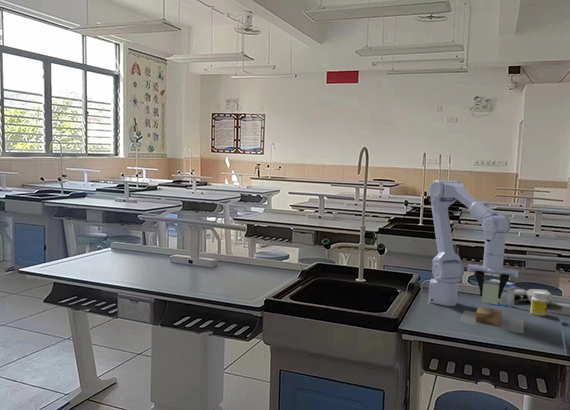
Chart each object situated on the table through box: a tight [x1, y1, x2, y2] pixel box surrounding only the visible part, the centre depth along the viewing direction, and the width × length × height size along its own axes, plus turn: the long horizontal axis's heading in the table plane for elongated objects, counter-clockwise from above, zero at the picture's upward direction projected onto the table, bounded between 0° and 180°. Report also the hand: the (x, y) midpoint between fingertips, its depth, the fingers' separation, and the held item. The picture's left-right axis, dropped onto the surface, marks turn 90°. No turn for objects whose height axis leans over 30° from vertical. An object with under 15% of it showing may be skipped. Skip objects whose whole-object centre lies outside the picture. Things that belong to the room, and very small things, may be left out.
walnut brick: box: [475, 306, 503, 326], centre depth 155 cm, size 7×7×3 cm
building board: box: [458, 310, 525, 334], centre depth 155 cm, size 18×14×1 cm
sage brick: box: [481, 280, 500, 306], centre depth 154 cm, size 4×4×6 cm
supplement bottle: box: [529, 291, 548, 317], centre depth 164 cm, size 5×5×8 cm
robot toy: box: [514, 288, 553, 303], centre depth 182 cm, size 12×4×15 cm
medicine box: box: [487, 278, 516, 309], centre depth 176 cm, size 8×4×9 cm, turn 42°
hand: (490, 296), depth 154 cm, fingers closed on sage brick, 4 cm apart
